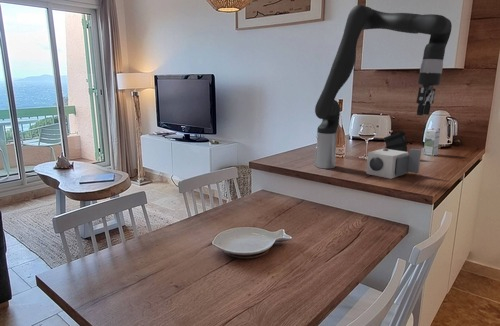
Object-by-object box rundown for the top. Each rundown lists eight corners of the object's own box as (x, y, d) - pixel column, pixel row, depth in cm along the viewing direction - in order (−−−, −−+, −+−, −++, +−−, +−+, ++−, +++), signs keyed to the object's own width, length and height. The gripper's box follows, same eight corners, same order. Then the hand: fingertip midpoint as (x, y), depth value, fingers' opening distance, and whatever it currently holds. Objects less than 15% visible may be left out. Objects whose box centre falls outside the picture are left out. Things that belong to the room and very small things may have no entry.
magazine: (409, 157, 184) (400, 131, 186) (388, 164, 194) (380, 139, 197) (413, 157, 186) (404, 130, 188) (392, 163, 197) (384, 138, 199)
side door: (395, 175, 152) (397, 151, 149) (406, 171, 158) (408, 148, 155) (407, 178, 148) (410, 152, 145) (418, 174, 154) (421, 149, 151)
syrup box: (437, 155, 199) (440, 129, 195) (432, 156, 195) (435, 130, 192) (427, 153, 203) (430, 128, 200) (422, 154, 200) (425, 129, 196)
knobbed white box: (364, 174, 159) (366, 150, 156) (382, 168, 168) (383, 146, 166) (389, 179, 149) (391, 154, 147) (406, 173, 159) (408, 150, 157)
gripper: (425, 73, 139) (418, 113, 143) (414, 70, 128) (407, 114, 132) (445, 73, 134) (437, 115, 138) (436, 71, 124) (428, 116, 127)
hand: (422, 115), depth 135 cm, fingers open, 8 cm apart
